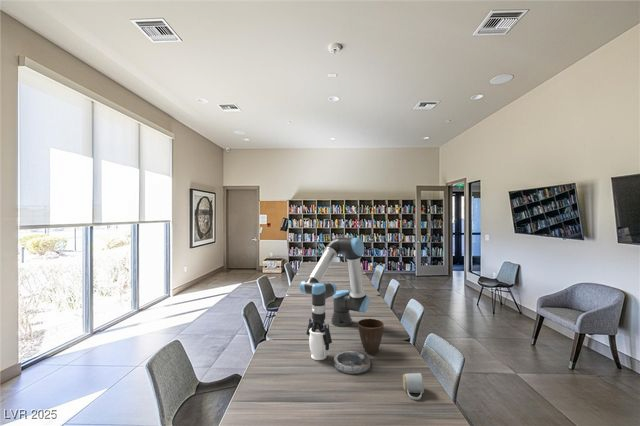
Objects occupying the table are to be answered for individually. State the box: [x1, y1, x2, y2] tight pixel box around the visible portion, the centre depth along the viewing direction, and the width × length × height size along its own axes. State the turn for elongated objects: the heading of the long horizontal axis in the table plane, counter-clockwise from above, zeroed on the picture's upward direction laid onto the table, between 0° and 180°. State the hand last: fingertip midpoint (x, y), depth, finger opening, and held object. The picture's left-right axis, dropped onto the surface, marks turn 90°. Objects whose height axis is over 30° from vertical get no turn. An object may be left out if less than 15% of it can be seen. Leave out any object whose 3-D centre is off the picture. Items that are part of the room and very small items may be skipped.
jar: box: [308, 328, 327, 361], centre depth 162 cm, size 11×10×15 cm
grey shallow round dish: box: [333, 350, 371, 375], centre depth 153 cm, size 19×19×4 cm
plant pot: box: [357, 318, 385, 355], centre depth 169 cm, size 15×15×16 cm
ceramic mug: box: [402, 372, 425, 401], centre depth 129 cm, size 11×8×8 cm
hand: (318, 351), depth 162 cm, fingers open, 11 cm apart
